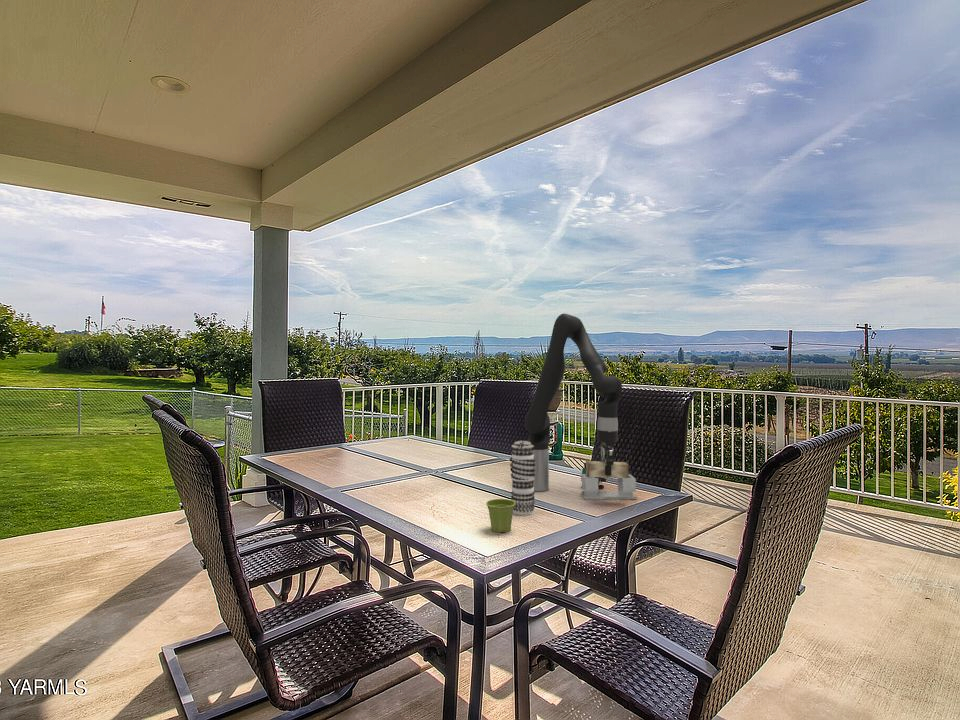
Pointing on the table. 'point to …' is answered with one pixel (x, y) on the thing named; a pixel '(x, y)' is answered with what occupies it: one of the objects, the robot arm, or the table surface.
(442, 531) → the table surface
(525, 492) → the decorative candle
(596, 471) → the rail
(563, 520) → the table surface
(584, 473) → the binoculars
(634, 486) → the cup bracket
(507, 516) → the plant pot
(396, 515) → the table surface
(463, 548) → the table surface
